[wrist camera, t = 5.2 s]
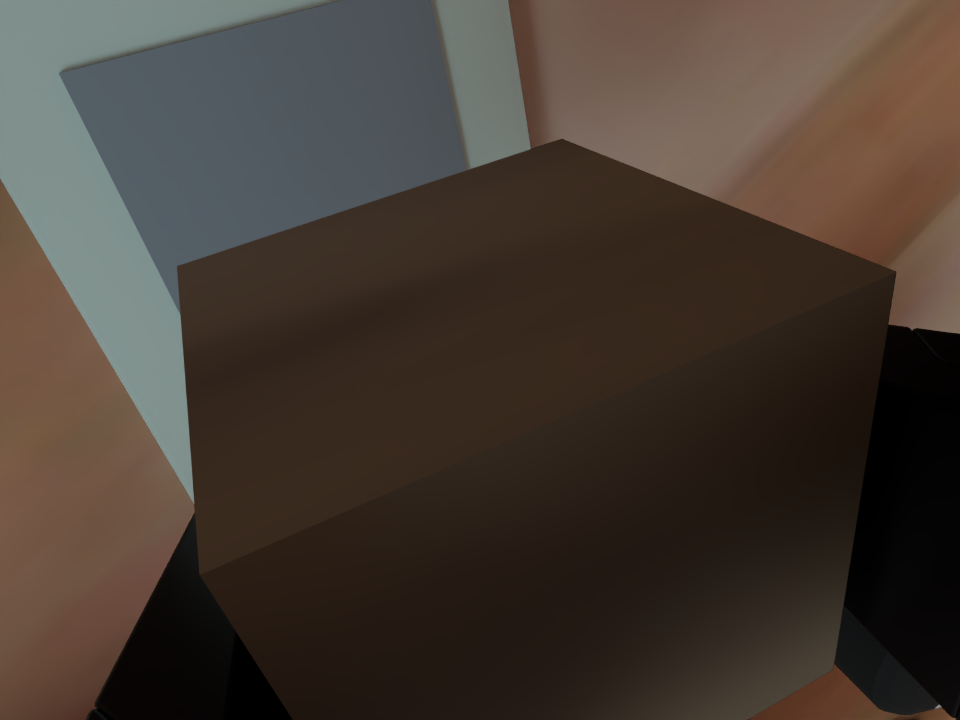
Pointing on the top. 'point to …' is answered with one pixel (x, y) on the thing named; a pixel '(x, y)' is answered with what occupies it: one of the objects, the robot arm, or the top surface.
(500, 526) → the walnut cube
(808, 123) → the top surface
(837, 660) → the medicine bottle
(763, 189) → the top surface
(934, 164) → the top surface
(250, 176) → the board
